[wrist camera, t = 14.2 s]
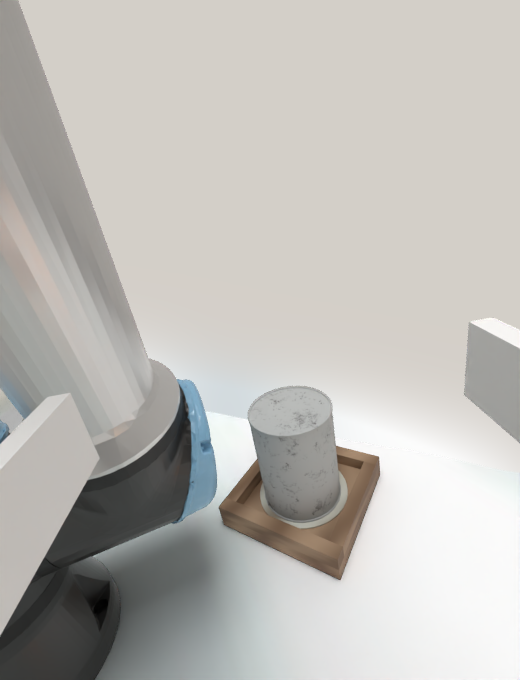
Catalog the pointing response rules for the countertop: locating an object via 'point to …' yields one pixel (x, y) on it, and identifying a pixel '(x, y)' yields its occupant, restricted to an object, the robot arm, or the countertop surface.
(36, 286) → the robot arm
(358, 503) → the walnut seat tray
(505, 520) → the countertop surface
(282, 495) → the speckled white cylinder
